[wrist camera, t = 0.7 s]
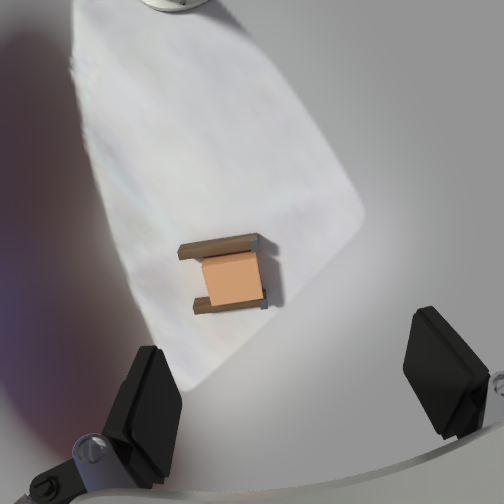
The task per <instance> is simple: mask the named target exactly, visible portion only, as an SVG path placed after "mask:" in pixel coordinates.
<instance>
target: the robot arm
mask: <svg viewBox="0 0 504 504" xmlns="http://www.w3.org/2000/svg"><path fill="white" fill-rule="evenodd" d="M141 1H142V2H143V3H144V4H145V5H147V6H148V7H151V8H153V9H156V10H160V11H169V12H170V11H181V10H186V9H190V8H193V7H196V6H198V5H201V4H203V3H205V2H206V1H208V0H141ZM183 4H186V5H183ZM403 371H404V374H405V376H406V378H407V379H408V381H409V383H410V385H411V387H412V388H413V390H414V392H415V394H416V395H417V397H418V399H419V401H420V403H421V405H422V406H423V408H424V410H425V412H426V414H427V416H428V417H429V419H430V421H431V423H432V425H433V427H434V429H435V431H436V432H437V434H439V435H440V434H441V435H442V437H443V439H444V440H446V439H448V438H450V437H452V436H455V435H456V436H457V438H458V440H456V441H454V442H452V443H450V444H447V445H445V446H442V447H440V448H438V449H435V450H433V451H430V452H428V453H425V454H423V455H420V456H417V457H414V458H412V459H409V460H406V461H403V462H400V463H397V464H394V465H391V466H388V467H384V468H381V469H378V470H374V471H370V472H367V473H363V474H359V475H355V476H351V477H346V478H342V479H338V480H332V481H328V482H322V483H316V484H311V485H304V486H298V487H290V488H282V489H272V490H260V491H244V492H183V491H167V490H151V488H152V485H153V483H156V484H164V479H165V477H169V474H170V469H171V463H172V457H173V452H174V446H175V440H176V435H177V430H178V425H179V419H180V414H181V409H182V398H181V395H180V393H179V391H178V388H177V386H176V384H175V381H174V379H173V376H172V374H171V371H170V369H169V366H168V364H167V361H166V358H165V356H164V353H163V351H162V349H158V348H157V346H155V345H153V346H141V347H140V348H139V350H138V352H137V355H136V357H135V359H134V361H133V364H132V366H131V369H130V371H129V373H128V375H127V378H126V380H125V381H123V383H122V384H121V386H120V389H119V391H118V394H117V396H116V399H115V401H114V404H113V406H112V408H111V411H110V413H109V416H108V418H107V421H106V423H105V426H104V428H103V431H102V434H101V435H100V434H89V435H85V436H83V437H82V438H80V439H79V440H78V441H77V442H76V444H75V446H74V447H73V458H72V459H70V460H68V461H66V462H64V463H62V464H60V465H58V466H56V467H54V468H52V469H50V470H48V471H46V472H44V473H42V474H40V475H38V476H36V477H35V478H34V479H33V480H32V482H31V485H30V490H29V491H30V494H29V495H28V496H27V495H26V494H24V495H23V496H22V497H21V498H20V499H18V500H17V501H16V502H15V503H14V504H504V371H499V372H496V373H494V374H493V375H492V376H490V374H489V373H488V372H489V370H488V368H487V367H486V366H485V365H484V364H483V362H482V361H481V360H480V359H479V358H478V356H477V355H476V354H475V353H474V352H473V350H472V349H471V348H470V347H469V346H468V345H467V343H466V342H465V341H464V340H463V339H462V338H461V337H460V336H459V335H458V333H457V332H456V331H455V330H454V329H453V328H452V327H451V326H450V324H449V323H448V322H447V321H446V320H445V319H444V318H443V317H442V316H441V315H440V314H439V312H438V311H437V310H436V309H435V308H434V307H433V306H428V307H424V308H420V309H418V310H417V312H416V313H415V314H414V315H413V319H412V325H411V330H410V335H409V340H408V345H407V350H406V355H405V359H404V364H403Z"/></svg>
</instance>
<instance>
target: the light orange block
mask: <svg viewBox="0 0 504 504" xmlns="http://www.w3.org/2000/svg"><path fill="white" fill-rule="evenodd" d="M201 268H202V271H203V275H204V279H205V283H206V286H207V290H208V294H209V297H210V301H211V304H212V306H216V305H223V304H230V303H237V302H243V301H250V300H256V299H262V298H263V293H262V285H261V279H260V273H259V267H258V261H257V256H256V252H254V253H252V251H251V250H245V251H239V252H232V253H225V254H219V255H212V256H205V257H204V259H203V263H202V266H201Z"/></svg>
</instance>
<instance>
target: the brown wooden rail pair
mask: <svg viewBox="0 0 504 504" xmlns="http://www.w3.org/2000/svg"><path fill="white" fill-rule="evenodd" d="M245 250H251V251H252V253H254V252H260V250H259V244H258V237H257V233H253V234H247V235H240V236H233V237H227V238H220V239H214V240H208V241H201V242H195V243H189V244H183V245H180V247H179V250H178V252H177V253H178V257H179V260H185V259H192V258H199V257H205V256H212V255H219V254H225V253H232V252H239V251H245ZM262 293H263V298H262V299H256V300H250V301H243V302H237V303H230V304H223V305H216V306H212V304H211V301H210V297H203V298H195V301H194V305H193V310H194V314H195V315H196V314H205V313H213V312H221V311H229V310H236V309H244V308H251V307H258V306H260V307H261V310H262V309H268V304H267V297H266V290H265V289H262Z"/></svg>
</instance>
